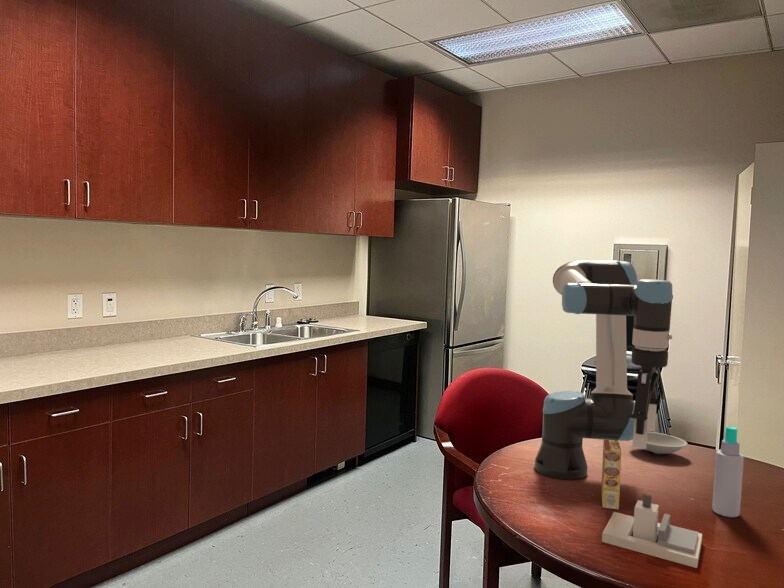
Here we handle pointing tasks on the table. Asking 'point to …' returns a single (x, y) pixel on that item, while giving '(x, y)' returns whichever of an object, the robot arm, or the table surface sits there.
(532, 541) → the table surface
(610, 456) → the candy box
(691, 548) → the shutter
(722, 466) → the spray bottle
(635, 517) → the plug
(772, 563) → the table surface
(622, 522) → the socket plate
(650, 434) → the dish
